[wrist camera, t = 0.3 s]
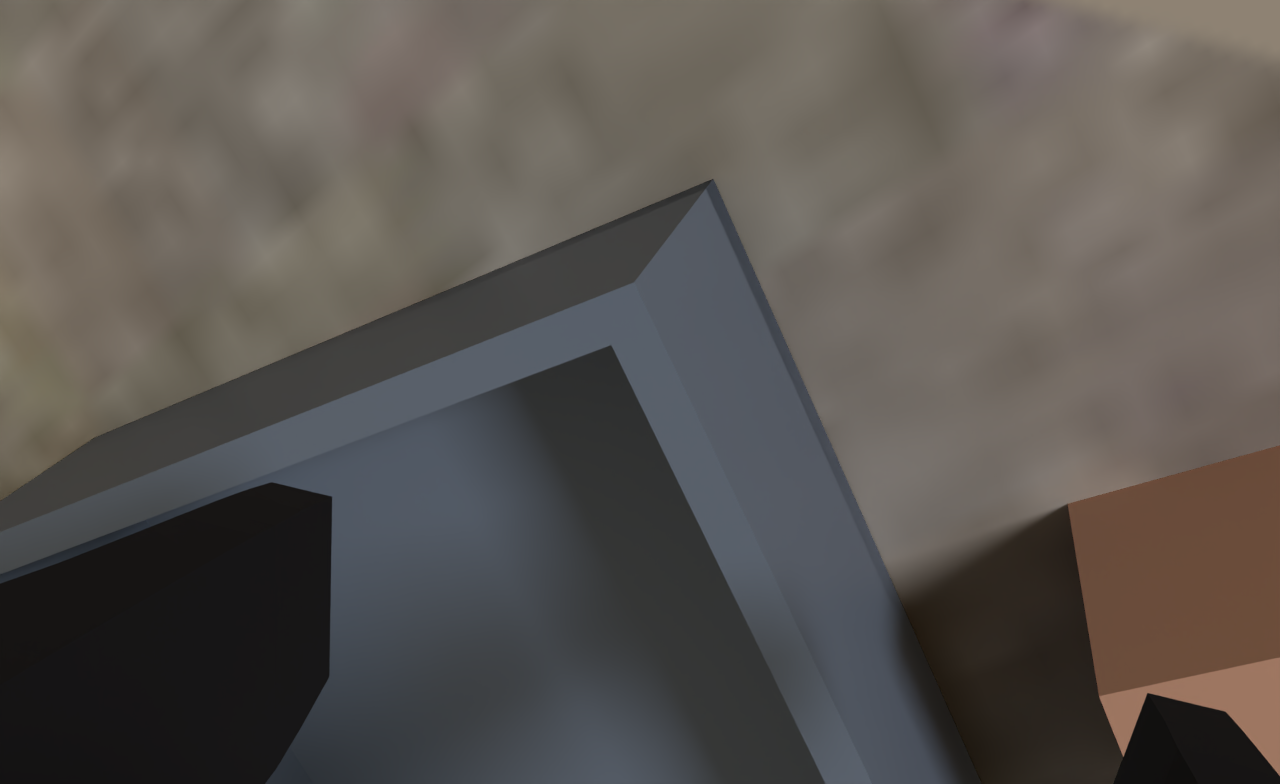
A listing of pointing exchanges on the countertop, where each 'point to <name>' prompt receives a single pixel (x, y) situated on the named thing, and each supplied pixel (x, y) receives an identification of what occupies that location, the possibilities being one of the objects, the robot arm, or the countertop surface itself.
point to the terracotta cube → (1187, 594)
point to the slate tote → (556, 531)
